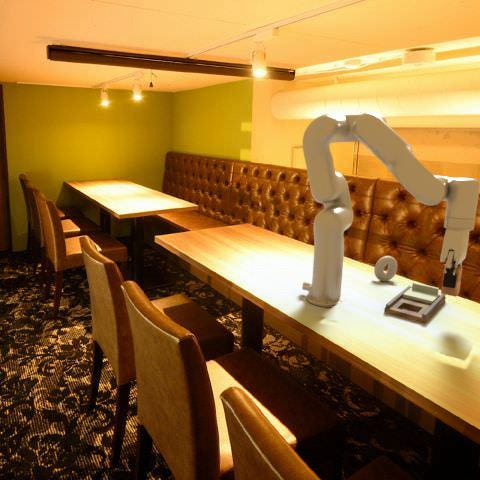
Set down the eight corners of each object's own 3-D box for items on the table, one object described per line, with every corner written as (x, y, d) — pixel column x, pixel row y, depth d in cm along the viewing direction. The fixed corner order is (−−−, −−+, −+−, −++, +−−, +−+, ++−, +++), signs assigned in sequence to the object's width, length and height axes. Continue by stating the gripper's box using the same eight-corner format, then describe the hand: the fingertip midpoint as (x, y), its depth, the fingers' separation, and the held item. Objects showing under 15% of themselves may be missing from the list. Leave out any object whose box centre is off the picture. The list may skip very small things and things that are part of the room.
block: (440, 293, 126) (444, 267, 124) (444, 289, 129) (447, 263, 127) (455, 296, 124) (459, 269, 122) (459, 292, 127) (462, 266, 125)
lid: (402, 297, 142) (403, 288, 141) (410, 290, 148) (412, 281, 147) (432, 304, 136) (433, 295, 136) (439, 296, 142) (440, 288, 142)
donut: (377, 284, 162) (379, 258, 160) (371, 281, 165) (373, 255, 163) (398, 280, 166) (400, 255, 164) (391, 278, 169) (394, 253, 167)
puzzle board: (383, 316, 134) (385, 304, 133) (407, 296, 151) (409, 285, 150) (423, 328, 127) (425, 315, 126) (444, 305, 144) (446, 294, 143)
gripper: (452, 216, 130) (445, 275, 135) (436, 225, 117) (428, 289, 122) (480, 219, 126) (471, 280, 130) (467, 230, 113) (457, 296, 117)
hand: (451, 284), depth 126 cm, fingers closed on block, 4 cm apart
